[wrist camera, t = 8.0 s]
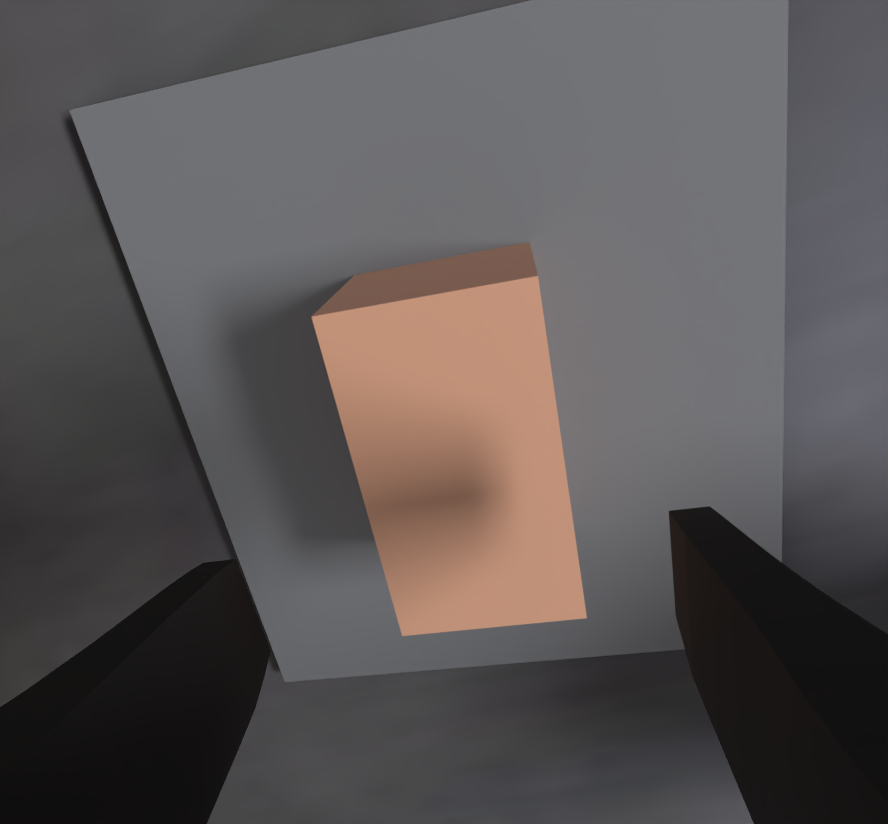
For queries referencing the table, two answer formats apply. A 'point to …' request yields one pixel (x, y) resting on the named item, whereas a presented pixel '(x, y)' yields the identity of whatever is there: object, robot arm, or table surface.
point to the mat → (462, 232)
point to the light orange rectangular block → (456, 439)
